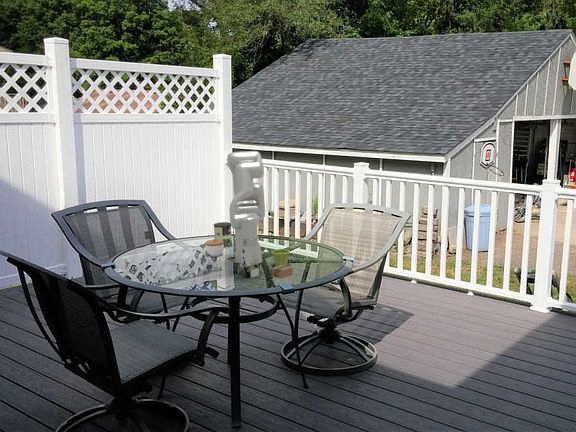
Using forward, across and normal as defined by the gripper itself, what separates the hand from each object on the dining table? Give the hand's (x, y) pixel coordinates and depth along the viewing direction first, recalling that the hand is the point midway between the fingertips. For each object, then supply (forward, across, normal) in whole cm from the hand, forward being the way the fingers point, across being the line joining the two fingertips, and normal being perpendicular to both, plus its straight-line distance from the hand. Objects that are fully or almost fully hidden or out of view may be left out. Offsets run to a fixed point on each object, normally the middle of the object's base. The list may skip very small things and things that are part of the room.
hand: (252, 277), depth 296 cm
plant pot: (+1, +22, +1) cm, 22 cm away
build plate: (+1, +9, -12) cm, 15 cm away
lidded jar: (+1, +19, +50) cm, 53 cm away
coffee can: (+1, +35, +61) cm, 70 cm away
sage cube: (+1, 0, 0) cm, 1 cm away
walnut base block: (-1, +9, -12) cm, 15 cm away
